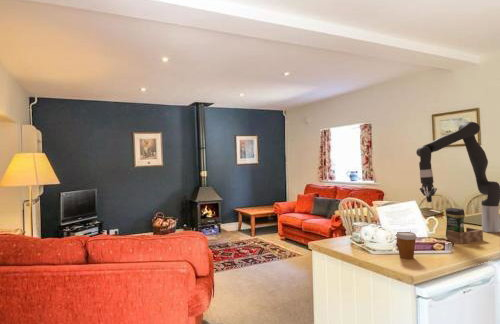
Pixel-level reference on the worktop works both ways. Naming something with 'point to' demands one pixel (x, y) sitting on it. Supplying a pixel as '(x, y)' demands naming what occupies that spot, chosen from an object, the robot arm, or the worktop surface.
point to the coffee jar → (455, 220)
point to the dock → (465, 236)
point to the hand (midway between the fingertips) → (429, 202)
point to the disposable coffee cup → (406, 244)
